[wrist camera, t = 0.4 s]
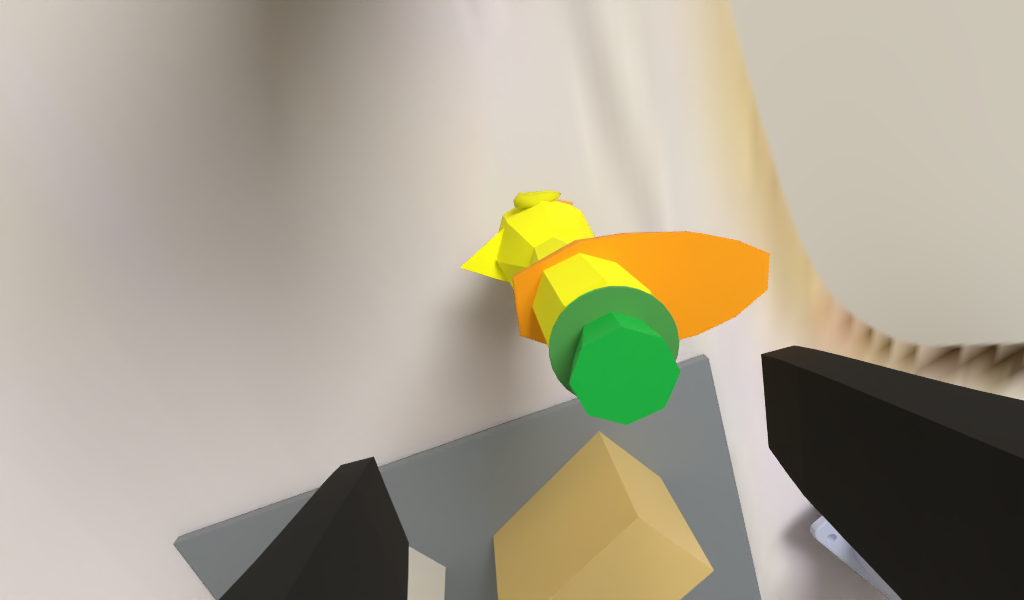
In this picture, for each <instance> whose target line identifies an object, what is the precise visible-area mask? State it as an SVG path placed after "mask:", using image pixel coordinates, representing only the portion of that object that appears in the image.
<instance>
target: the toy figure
mask: <svg viewBox="0 0 1024 600" xmlns="http://www.w3.org/2000/svg"><path fill="white" fill-rule="evenodd" d="M560 195H561V193H559V192H554V191H538V192H526V193H519V194H518V195H517V196H516V198H515V199H514V205H515V208H513V209H512V210H510V211H508V212H507V213H505V214H503V217H502V221H501V225H500V228H499V232H498V234H497V235H496V236H494V237H493V238H492V239H491V240H490V241H489V242H488V243H487V244H486V245H485V246H483V247H482V248H481V249H480V250H479V251H478V252H477V253H476V254H475V255H473V256H472V257H471V258H470V259H469V260H468V261H467V262H466V263H465V264H463V265H462V266H461V267H460V268H463V269H466V270H469V271H473V272H476V273H479V274H482V275H486V276H489V277H492V278H495V279H499V280H502V281H505V282H508V283H510V284H511V286H512V287H513V291H514V299H515V306H516V312H517V318H518V324H519V330H520V335H521V336H523V337H526V338H529V339H532V340H535V341H538V342H541V343H544V344H547V345H548V347H549V357H550V361H551V365H552V369H553V371H554V372H555V374H556V376H557V378H558V380H559V381H560V382H561V383H562V384H563V386H564V387H565V388H566V389H567V390H569V391H570V392H571V393H573V394H574V395H576V396H577V397H578V399H579V401H580V402H581V404H582V406H583V408H584V409H585V411H586V413H587V414H588V415H589V416H593V417H597V418H601V419H605V420H609V421H613V422H617V423H621V424H625V425H628V424H631V423H633V422H635V421H637V420H639V419H642V418H644V417H646V416H648V415H650V414H653V413H655V412H657V411H659V410H661V409H664V408H665V407H666V404H667V402H668V400H669V398H670V395H671V393H672V391H673V389H674V386H675V384H676V382H677V379H678V377H679V375H680V373H681V372H680V370H679V368H678V366H677V364H676V362H675V361H676V359H677V356H678V349H679V340H681V339H684V338H688V337H691V336H695V335H698V334H701V333H703V332H705V331H707V330H709V329H711V328H713V327H715V326H717V325H719V324H722V323H724V322H726V321H728V320H730V319H732V318H734V317H736V316H737V315H738V314H739V313H741V312H742V311H743V310H744V309H745V308H746V307H748V306H749V305H750V304H751V303H752V302H753V301H755V300H756V299H757V298H758V297H759V296H760V295H762V294H763V293H764V292H765V291H766V290H767V289H768V272H769V253H767V252H764V251H762V250H760V249H757V248H755V247H752V246H750V245H747V244H745V243H742V242H740V241H738V240H733V239H727V238H722V237H717V236H712V235H707V234H702V233H695V232H687V231H681V232H646V233H622V234H615V235H608V236H601V237H595V236H594V235H593V233H592V231H591V229H590V227H589V225H588V223H587V221H586V219H585V217H584V215H583V213H582V212H581V211H579V210H578V209H576V208H575V207H573V206H572V202H567V201H561V200H555V199H557V198H558V197H559V196H560Z"/></svg>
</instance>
